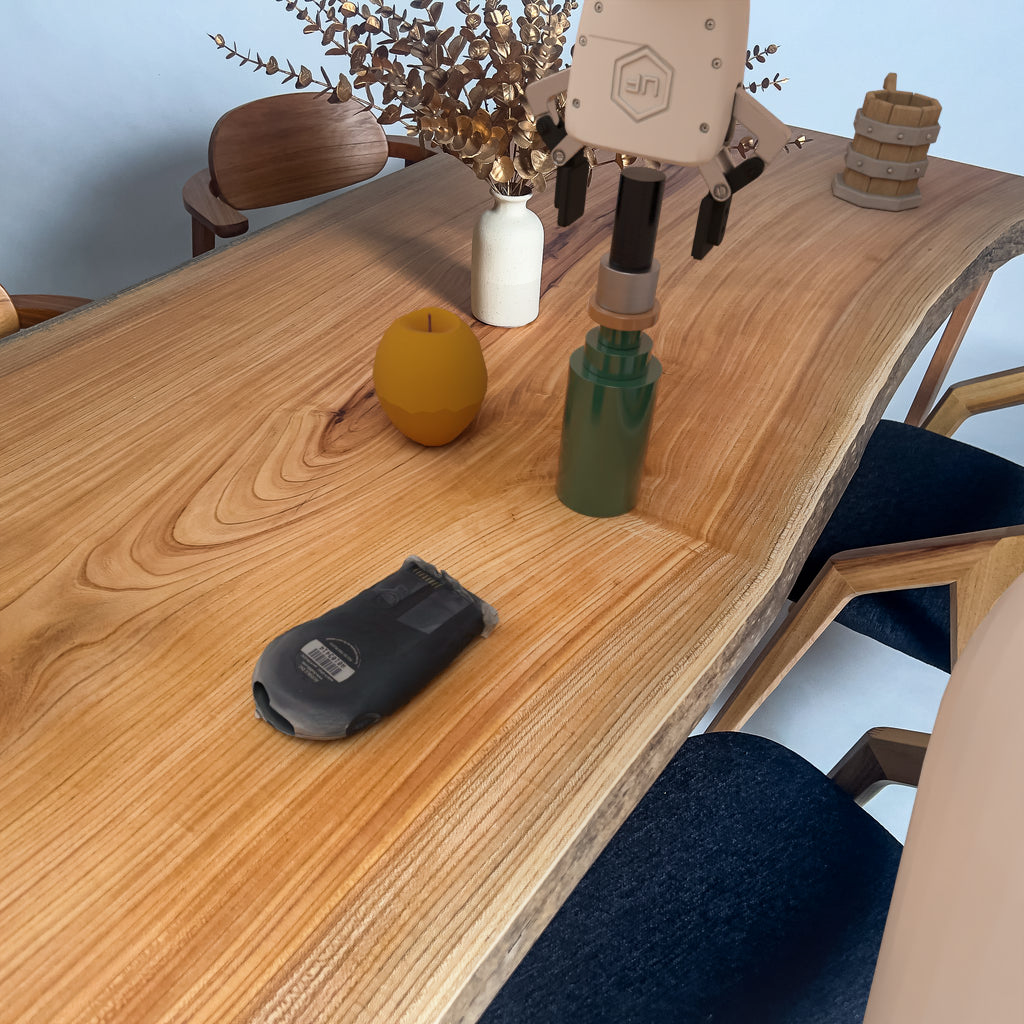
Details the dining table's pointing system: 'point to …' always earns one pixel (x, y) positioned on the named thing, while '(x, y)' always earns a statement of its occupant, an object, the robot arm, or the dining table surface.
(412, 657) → the electronic device
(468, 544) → the dining table surface
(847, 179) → the tankard
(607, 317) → the bottle
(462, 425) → the apple
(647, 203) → the torch
